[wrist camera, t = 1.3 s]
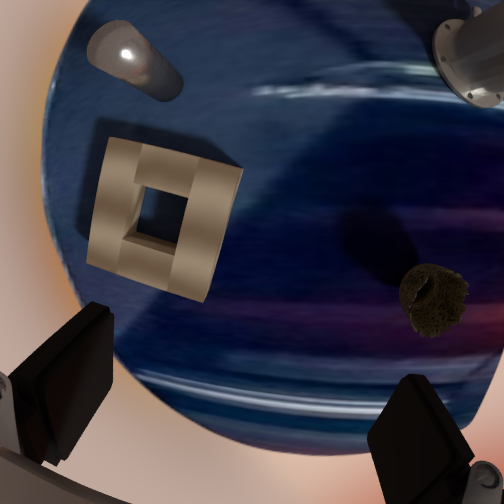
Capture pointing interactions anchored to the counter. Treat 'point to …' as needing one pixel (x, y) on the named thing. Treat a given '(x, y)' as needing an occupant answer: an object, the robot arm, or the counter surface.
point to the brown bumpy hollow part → (432, 298)
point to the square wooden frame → (151, 248)
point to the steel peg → (134, 61)
